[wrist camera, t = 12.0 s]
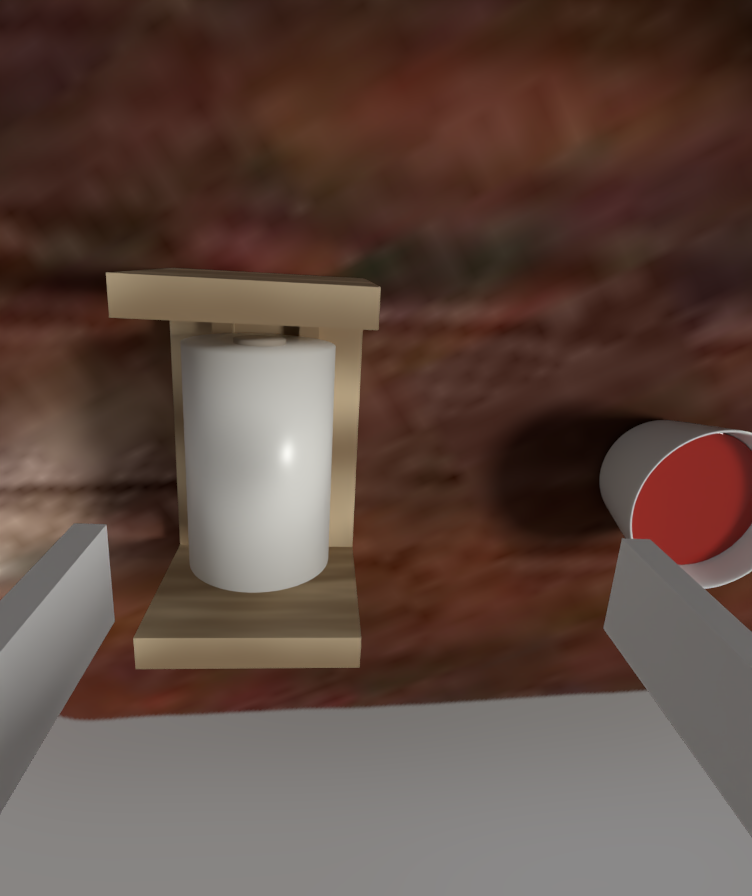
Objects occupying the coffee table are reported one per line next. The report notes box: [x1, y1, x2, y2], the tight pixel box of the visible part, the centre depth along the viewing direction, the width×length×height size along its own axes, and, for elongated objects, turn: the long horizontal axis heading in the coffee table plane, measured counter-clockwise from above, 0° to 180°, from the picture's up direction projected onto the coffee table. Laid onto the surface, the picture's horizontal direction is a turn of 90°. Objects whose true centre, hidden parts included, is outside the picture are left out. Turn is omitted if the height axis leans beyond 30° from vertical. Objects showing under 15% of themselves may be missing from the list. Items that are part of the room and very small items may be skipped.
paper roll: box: [180, 333, 336, 593], centre depth 29 cm, size 11×7×7 cm, turn 177°
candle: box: [599, 420, 752, 589], centre depth 34 cm, size 9×9×6 cm
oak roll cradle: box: [106, 268, 381, 669], centre depth 30 cm, size 17×10×10 cm, turn 177°
